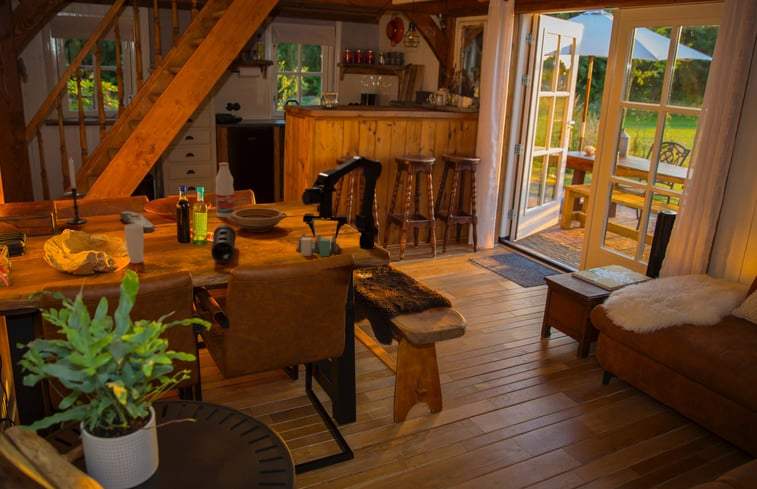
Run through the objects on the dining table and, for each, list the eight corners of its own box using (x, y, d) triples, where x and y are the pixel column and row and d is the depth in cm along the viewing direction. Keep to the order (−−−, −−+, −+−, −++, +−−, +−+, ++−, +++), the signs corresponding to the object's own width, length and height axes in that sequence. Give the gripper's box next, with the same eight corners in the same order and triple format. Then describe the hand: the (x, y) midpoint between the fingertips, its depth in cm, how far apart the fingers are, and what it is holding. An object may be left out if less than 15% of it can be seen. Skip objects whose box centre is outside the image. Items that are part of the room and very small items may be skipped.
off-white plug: (311, 253, 263) (311, 237, 261) (310, 255, 259) (310, 240, 257) (302, 252, 263) (302, 237, 261) (301, 255, 259) (301, 239, 257)
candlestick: (82, 225, 289) (75, 152, 279) (60, 224, 289) (52, 151, 279) (93, 220, 299) (87, 149, 290) (71, 219, 300) (64, 148, 290)
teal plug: (329, 254, 263) (330, 238, 261) (328, 256, 259) (329, 241, 257) (320, 253, 263) (320, 238, 261) (319, 256, 259) (319, 240, 257)
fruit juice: (232, 213, 325) (230, 161, 317) (236, 217, 317) (235, 164, 309) (214, 214, 321) (212, 162, 313) (218, 218, 313) (217, 165, 305)
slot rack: (338, 246, 275) (339, 235, 273) (336, 253, 264) (337, 242, 263) (299, 244, 275) (299, 233, 273) (296, 251, 264) (296, 240, 263)
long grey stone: (138, 237, 280) (160, 235, 287) (138, 226, 279) (160, 224, 285) (115, 217, 306) (135, 215, 312) (114, 207, 304) (135, 205, 310)
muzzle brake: (211, 266, 241) (210, 241, 238) (214, 246, 267) (213, 223, 264) (235, 265, 243) (234, 241, 240) (236, 245, 269) (235, 223, 266)
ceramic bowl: (280, 221, 313) (280, 206, 311) (293, 233, 292) (293, 217, 290) (222, 224, 301) (222, 209, 299) (232, 237, 280) (232, 221, 278)
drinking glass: (147, 259, 245) (145, 223, 241) (142, 264, 238) (139, 228, 234) (130, 258, 244) (128, 223, 240) (124, 264, 238) (121, 227, 234)
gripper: (349, 199, 262) (348, 233, 266) (306, 197, 262) (306, 232, 266) (347, 205, 251) (346, 240, 256) (302, 203, 251) (302, 239, 256)
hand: (325, 237), depth 259 cm, fingers open, 9 cm apart
